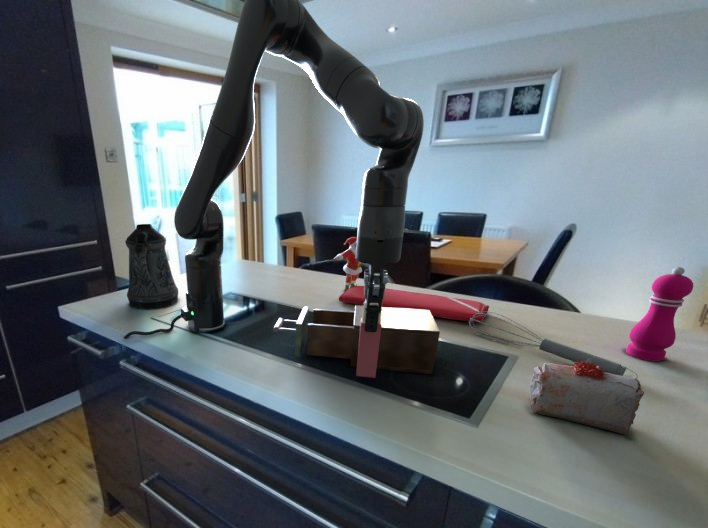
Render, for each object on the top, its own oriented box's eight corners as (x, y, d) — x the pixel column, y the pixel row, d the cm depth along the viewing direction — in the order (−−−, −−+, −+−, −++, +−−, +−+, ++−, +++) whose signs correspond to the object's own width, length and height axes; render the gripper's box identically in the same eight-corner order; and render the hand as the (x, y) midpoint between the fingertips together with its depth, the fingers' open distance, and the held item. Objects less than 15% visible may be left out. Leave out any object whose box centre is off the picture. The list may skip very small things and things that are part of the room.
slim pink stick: (356, 376, 75) (362, 304, 70) (356, 368, 78) (362, 299, 73) (375, 378, 75) (383, 305, 69) (375, 370, 77) (383, 300, 72)
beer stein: (169, 292, 140) (162, 220, 130) (189, 306, 125) (182, 226, 115) (123, 299, 132) (111, 223, 123) (137, 315, 117) (125, 230, 107)
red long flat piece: (357, 291, 138) (358, 281, 136) (488, 312, 115) (490, 300, 114) (338, 302, 126) (338, 291, 125) (479, 328, 104) (481, 315, 102)
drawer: (270, 354, 88) (270, 321, 85) (280, 334, 100) (281, 305, 97) (366, 363, 84) (369, 329, 81) (366, 341, 95) (369, 310, 92)
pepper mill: (655, 350, 89) (691, 264, 82) (674, 364, 83) (715, 272, 75) (616, 347, 92) (648, 262, 84) (632, 359, 85) (668, 269, 78)
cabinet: (350, 366, 84) (353, 325, 80) (352, 342, 96) (355, 305, 93) (432, 374, 80) (440, 331, 77) (423, 348, 92) (429, 310, 89)
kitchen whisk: (630, 387, 75) (641, 357, 72) (461, 334, 101) (466, 311, 98) (640, 378, 78) (652, 349, 75) (474, 329, 104) (479, 306, 101)
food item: (525, 414, 67) (540, 363, 63) (525, 394, 73) (539, 346, 69) (630, 441, 60) (654, 385, 56) (621, 416, 66) (642, 364, 62)
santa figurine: (341, 299, 129) (345, 242, 122) (325, 296, 132) (328, 241, 125) (373, 284, 147) (378, 233, 139) (358, 281, 150) (363, 232, 143)
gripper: (357, 227, 73) (350, 314, 80) (356, 238, 61) (348, 340, 67) (399, 228, 71) (389, 316, 78) (407, 240, 59) (393, 344, 65)
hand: (370, 327), depth 73 cm, fingers closed on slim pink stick, 3 cm apart
